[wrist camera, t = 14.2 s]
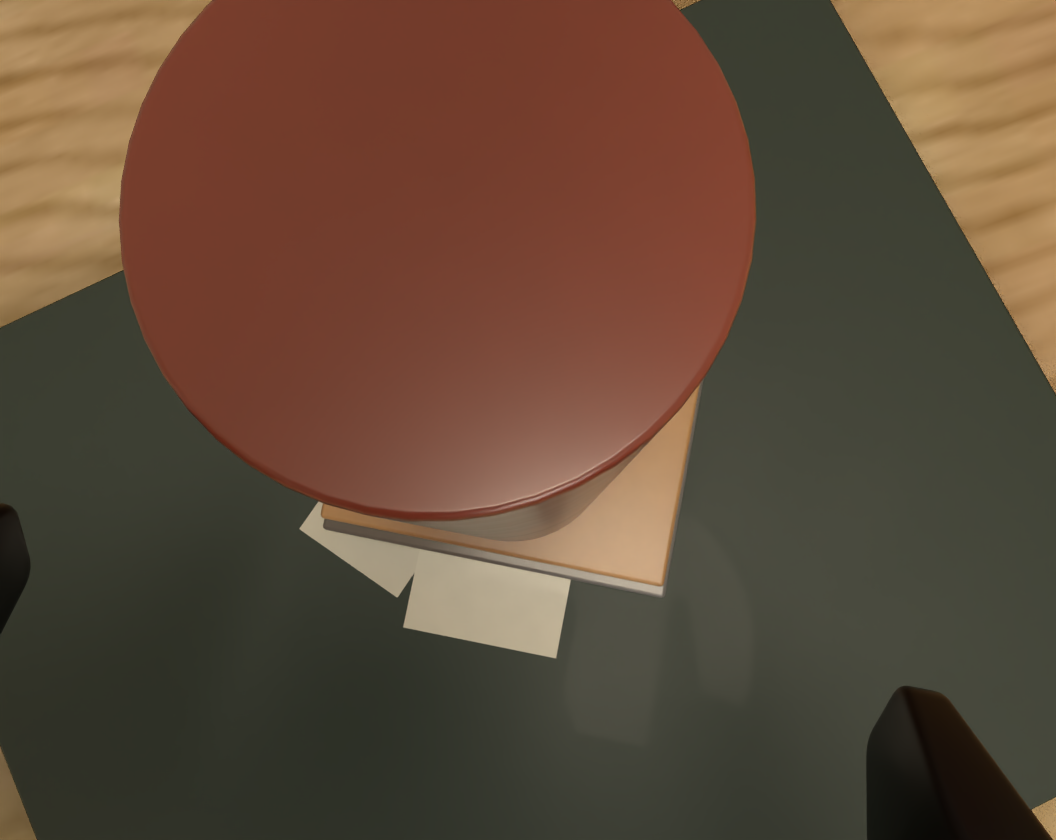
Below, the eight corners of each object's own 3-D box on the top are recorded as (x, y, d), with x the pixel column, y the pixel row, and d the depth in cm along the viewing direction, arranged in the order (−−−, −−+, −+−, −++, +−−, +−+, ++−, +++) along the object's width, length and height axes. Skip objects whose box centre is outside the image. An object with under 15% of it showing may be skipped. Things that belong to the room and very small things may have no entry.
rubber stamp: (696, 381, 18) (1092, -68, 5) (657, 595, 17) (987, 731, 4) (381, 320, 18) (-33, -257, 5) (333, 530, 18) (-259, 475, 5)
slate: (205, 1218, 17) (192, 1244, 16) (-119, 396, 19) (-141, 391, 18) (1212, 700, 17) (1237, 706, 17) (795, -31, 19) (803, -50, 19)
